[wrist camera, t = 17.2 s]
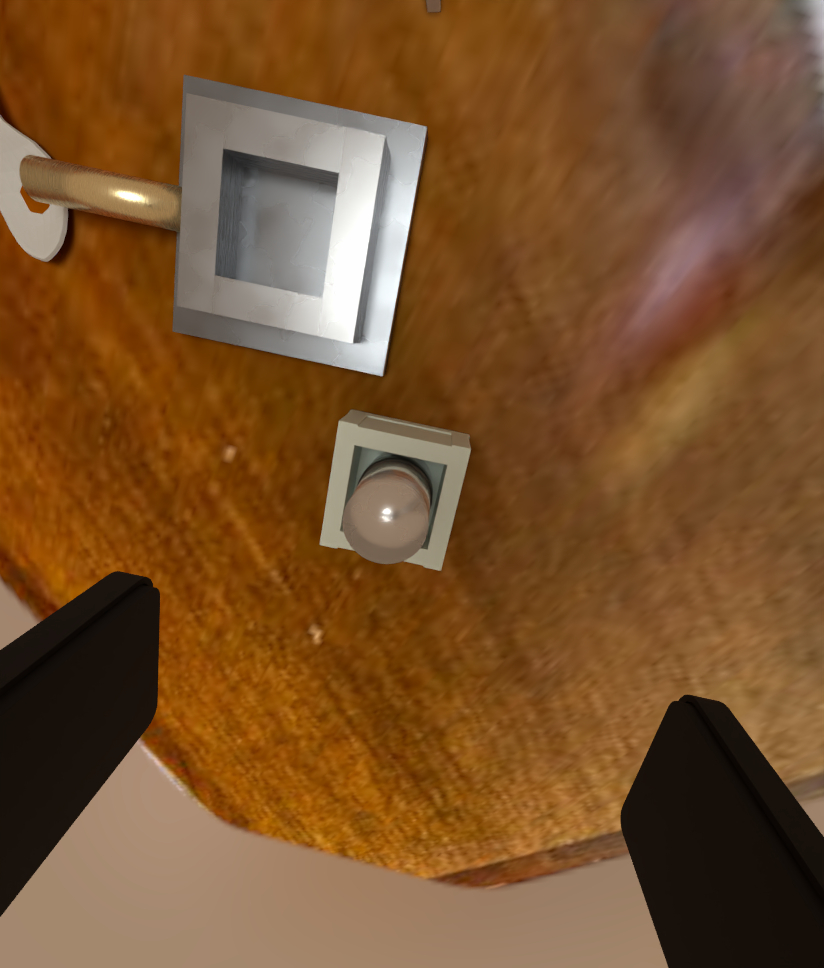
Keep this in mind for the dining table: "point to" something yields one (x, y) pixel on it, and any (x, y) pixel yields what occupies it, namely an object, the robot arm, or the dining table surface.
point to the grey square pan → (272, 220)
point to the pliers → (433, 5)
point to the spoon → (33, 231)
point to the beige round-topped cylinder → (389, 509)
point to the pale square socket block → (378, 434)
